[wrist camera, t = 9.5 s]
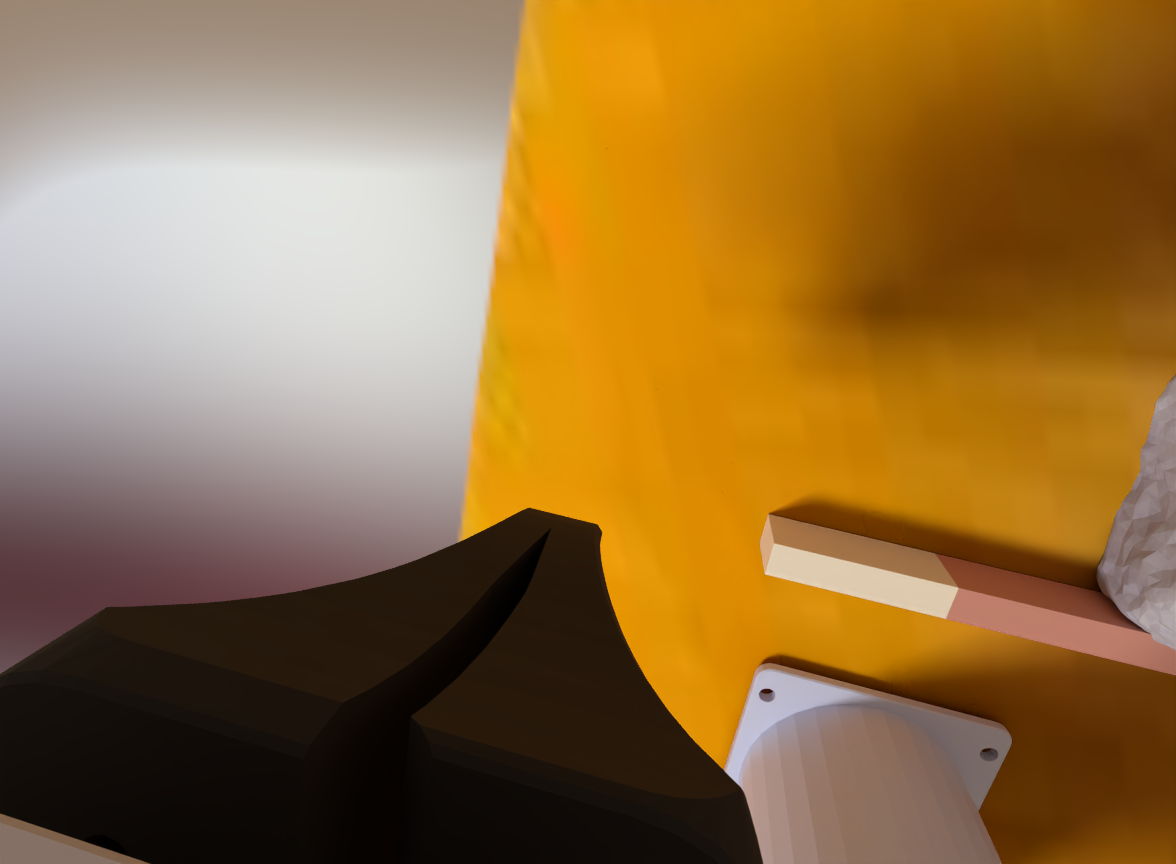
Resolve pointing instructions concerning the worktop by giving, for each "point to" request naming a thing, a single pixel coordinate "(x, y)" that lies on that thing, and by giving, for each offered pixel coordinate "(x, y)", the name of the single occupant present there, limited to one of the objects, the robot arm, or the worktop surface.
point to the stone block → (1148, 534)
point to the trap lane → (959, 591)
